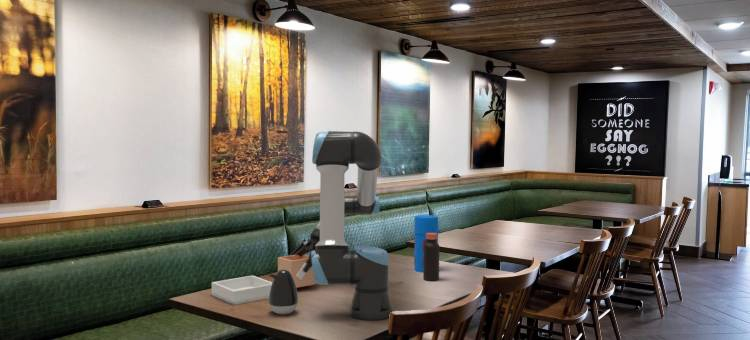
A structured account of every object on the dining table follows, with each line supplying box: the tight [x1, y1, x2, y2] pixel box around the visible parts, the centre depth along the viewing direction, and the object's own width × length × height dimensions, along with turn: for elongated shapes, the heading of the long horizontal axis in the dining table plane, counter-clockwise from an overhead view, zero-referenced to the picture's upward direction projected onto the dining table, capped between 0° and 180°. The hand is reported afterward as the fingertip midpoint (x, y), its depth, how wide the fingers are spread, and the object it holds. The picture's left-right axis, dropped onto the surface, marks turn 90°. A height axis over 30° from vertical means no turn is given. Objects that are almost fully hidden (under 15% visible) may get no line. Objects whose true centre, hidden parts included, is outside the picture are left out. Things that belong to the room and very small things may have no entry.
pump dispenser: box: [268, 269, 299, 315], centre depth 209 cm, size 10×10×15 cm
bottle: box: [422, 233, 440, 282], centre depth 258 cm, size 7×7×20 cm
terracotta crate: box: [277, 253, 317, 289], centre depth 243 cm, size 10×12×11 cm
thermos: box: [413, 214, 439, 273], centre depth 275 cm, size 11×11×25 cm
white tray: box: [211, 275, 273, 306], centre depth 230 cm, size 18×18×5 cm
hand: (290, 275), depth 241 cm, fingers closed on terracotta crate, 10 cm apart
